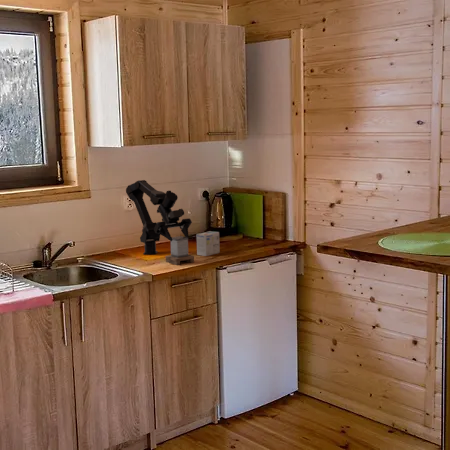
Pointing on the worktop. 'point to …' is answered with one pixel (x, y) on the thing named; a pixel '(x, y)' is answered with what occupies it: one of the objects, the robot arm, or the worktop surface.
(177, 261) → the walnut stand
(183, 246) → the block
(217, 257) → the worktop surface
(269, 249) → the worktop surface
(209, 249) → the light bulb box
